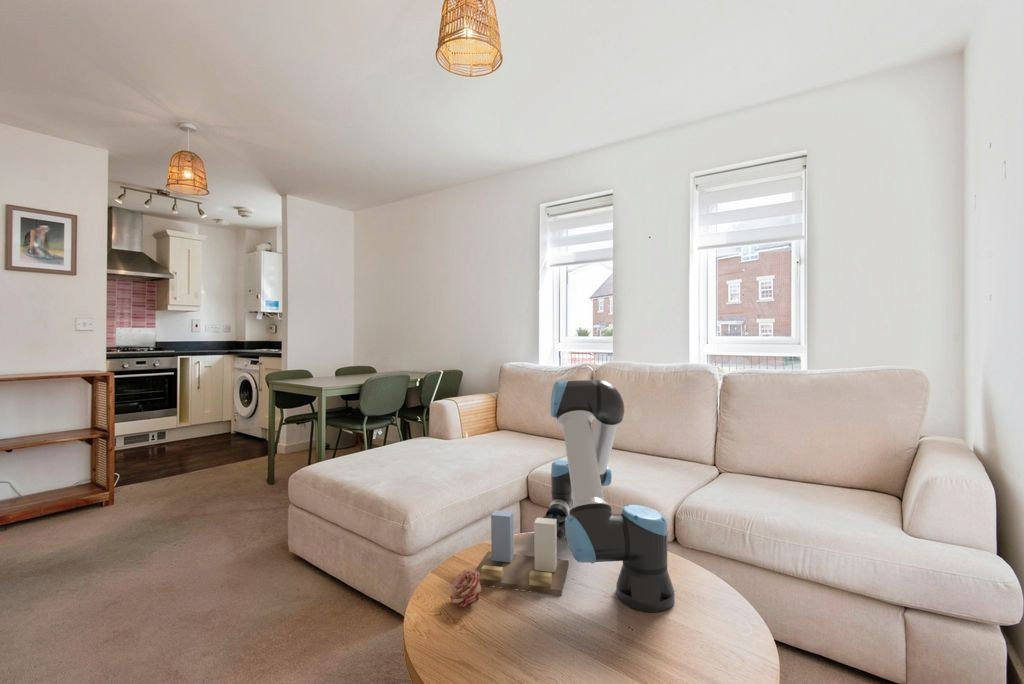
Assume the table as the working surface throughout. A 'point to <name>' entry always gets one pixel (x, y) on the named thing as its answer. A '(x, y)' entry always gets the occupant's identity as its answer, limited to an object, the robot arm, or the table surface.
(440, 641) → the table surface
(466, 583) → the flower
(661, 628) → the table surface
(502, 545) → the light blue tall block
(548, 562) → the key cream
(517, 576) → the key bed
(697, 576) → the table surface
